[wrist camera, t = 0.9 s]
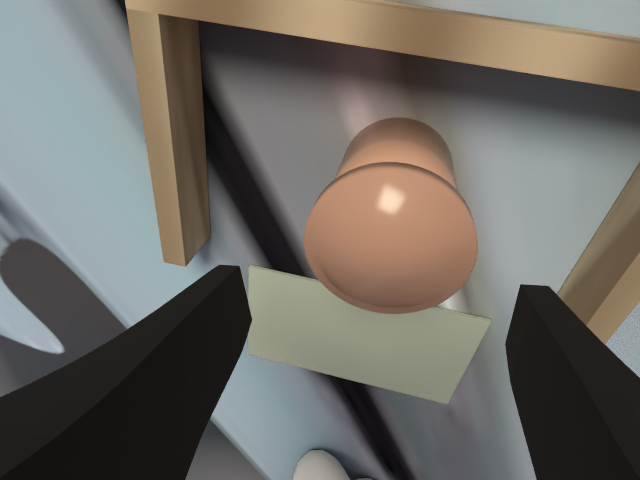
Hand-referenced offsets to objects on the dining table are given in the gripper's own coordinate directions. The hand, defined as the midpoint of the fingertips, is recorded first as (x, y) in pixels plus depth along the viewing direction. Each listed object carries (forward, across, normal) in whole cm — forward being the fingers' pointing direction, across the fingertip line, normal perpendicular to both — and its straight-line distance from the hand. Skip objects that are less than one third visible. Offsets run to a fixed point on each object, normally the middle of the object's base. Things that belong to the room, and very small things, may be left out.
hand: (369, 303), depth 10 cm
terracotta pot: (+9, 0, 0) cm, 9 cm away
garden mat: (+9, +2, +12) cm, 15 cm away
